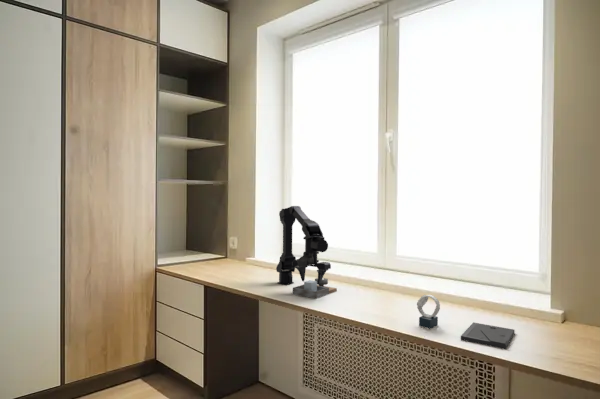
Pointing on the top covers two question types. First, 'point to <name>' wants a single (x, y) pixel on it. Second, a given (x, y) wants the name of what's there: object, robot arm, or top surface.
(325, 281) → the wheel
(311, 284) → the grey-blue block
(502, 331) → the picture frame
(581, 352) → the top surface
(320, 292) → the tray
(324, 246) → the robot arm
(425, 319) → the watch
